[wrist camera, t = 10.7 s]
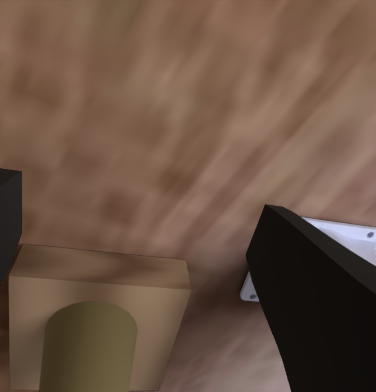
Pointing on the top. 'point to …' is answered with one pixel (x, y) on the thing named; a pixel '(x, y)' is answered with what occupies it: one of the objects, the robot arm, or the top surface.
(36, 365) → the walnut block
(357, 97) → the top surface
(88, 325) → the cork
